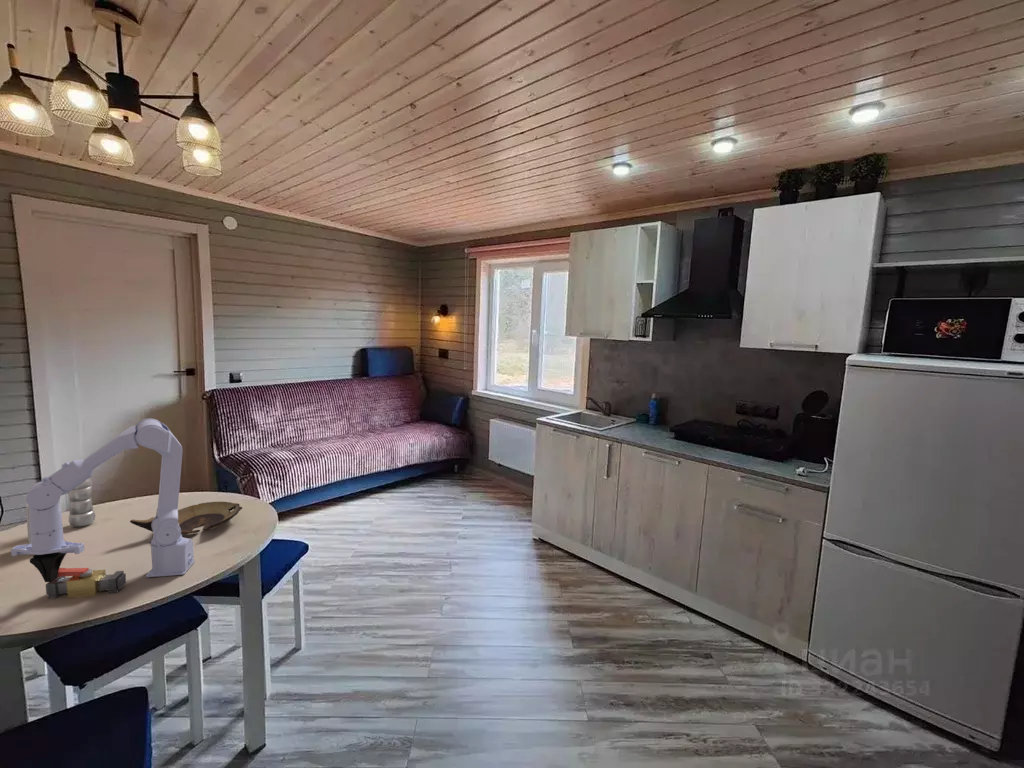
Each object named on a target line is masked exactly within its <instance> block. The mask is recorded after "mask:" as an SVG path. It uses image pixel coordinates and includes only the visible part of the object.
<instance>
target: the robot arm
mask: <svg viewBox="0 0 1024 768" xmlns="http://www.w3.org/2000/svg"><path fill="white" fill-rule="evenodd" d="M139 445H140V446H142V447H144V448H147V449H150V450H154V451H155V452H156V453H158V454H159V455H161V463H160V464H161V465H160V478H159V489H158V499H157V501H158V502H157V508H156V515H155V516H154V517H155V518H154V519H153V521H152V524H151V527H152V530H153V532H152V533H153V536H152V539H150V549H151V550H150V551H151V555H150V556H151V570H150V571H149V572H148V573H147V574H146V575H145V578H156V577H157V578H158V577H167V576H168V577H169V576H170V577H172V576H182V575H185V574H186V572H187V571H188V570H189V569H190V568H191V566H192V565H193V564H194V563H195V561H196V559H194V557H195V556H194V541H193V539H192V538H187V537H183V534H181V528H180V527H179V523H178V510H179V500H180V499H179V498H180V496H179V495H180V487H181V486H180V485H181V476H182V475H181V474H182V465H183V464H182V461H183V449H184V448H183V446H182V444H181V443H180V442H179V440H178V439H177V437H176V436H175V435H174V434H173V432H172V431H171V430H170V428H169V427H168V425H166V424H165V423H163V422H161V421H160V420H158V419H156V418H152V417H151V418H145V419H142V420H141V421H139V422H137V424H136V425H135V424H133V425H131V426H130V427H128V428H126V429H125V430H123V431H122V432H120V433H119V434H118V435H115V437H113V438H112V439H111V440H109V441H108V442H106V443H105V444H103V445H102V446H101V447H99V448H98V449H97V450H96V451H94V452H92V453H91V454H90V455H88V456H87V457H86V458H84V459H73V460H71V461H70V462H68V461H65V462H64V463H62V464H61V468H60V469H58V470H57V471H55V472H54V473H52V474H51V475H48V477H47V476H44V477H43V478H41V480H40V481H39V482H36V483H35V484H33V485H32V486H31V487H30V488H29V490H28V493H27V494H26V497H25V503H26V502H27V504H28V506H29V512H30V514H29V521H30V532H31V543H32V544H29V543H27V544H17V545H16V546H14V547H13V548H10V551H11V553H10V554H11V557H17V556H18V555H20V556H21V555H30V554H34V555H32V557H31V558H30V559H29V563H30V564H31V565H33V566H34V567H35V569H37V571H39V573H40V575H41V577H42V579H43V581H44V582H45V583H48V582H52V581H53V580H55V579H56V578H57V575H58V571H59V568H61V565H62V562H63V560H64V559H65V556H66V555H67V554H75V555H79V554H81V553H83V552H84V551H85V543H83V542H79V543H78V542H75V541H74V542H72V541H67V540H65V539H64V530H63V529H64V526H63V525H64V524H63V514H62V508H61V505H60V500H61V496H64V495H68V493H69V492H70V491H71V490H73V489H74V488H76V487H77V486H79V485H80V484H82V483H83V482H84V481H86V480H87V479H89V478H90V479H91V478H92V477H93V476H94V469H97V468H98V467H99V466H101V465H102V464H104V463H105V462H107V461H108V460H110V459H111V458H114V457H115V456H116V455H118V454H120V453H121V452H122V451H125V450H132V449H133V450H135V449H139Z"/></svg>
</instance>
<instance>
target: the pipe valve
mask: <svg viewBox="0 0 1024 768" xmlns="http://www.w3.org/2000/svg"><path fill="white" fill-rule="evenodd" d="M91 570H92V572H93V573H92V575H90V576H87V577H80V576H69V577H67V576H61V577H57V578H56V579H55V580H53V581H52V582H46V584H45V591H46V592H45V593H46V595H47V598H48V599H56V598H58V597H59V596H60V595H62V594H67V598H68V599H69V598H80V597H93V596H97V595H98V594H100V592H101V591H108V594H117V593H118V592H119V591H120V589H122V588H123V587H124V586H125V585H126V584H127V577H126V572H124V570H116V571H115V572H114V573H113V574H107V573H106V569H97V570H95V569H94V570H93V569H91Z"/></svg>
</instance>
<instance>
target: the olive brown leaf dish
mask: <svg viewBox="0 0 1024 768" xmlns="http://www.w3.org/2000/svg"><path fill="white" fill-rule="evenodd" d="M242 509H243V507H242V506H240V503H235V502H234V503H233V502H231V501H229V502H228V501H210V502H209V501H207V502H202V503H201V502H200V503H198V504H192V505H189V506H186V507H183V508H181V509H178V523H179V527H180V528H181V534H182V535H188V534H195V533H196V534H198V533H200V532H201V529H196V528H199V527H201V526H202V527H203V528H202V531H203V532H207V531H210V530H213V529H215V528H217V527H220V526H221V525H223V524H225V523H227V522H228V521H230V520H232V519H233V518H234V517H236V516H237V515H238V514H239V512H240V511H241V510H242ZM154 518H155V516H152V517H150V518H148V519H131V520H129V523H131V524H132V525H135V526H137V527H139V528H143V529H146V530H147V531H150V532H152V533H153V530H152V527H151V524H152V521H153V519H154ZM194 529H195V530H194Z"/></svg>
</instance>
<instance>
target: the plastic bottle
mask: <svg viewBox="0 0 1024 768" xmlns="http://www.w3.org/2000/svg"><path fill="white" fill-rule="evenodd" d="M92 489H93V480H92V478H91V477H90V478H89V479H87V480H86V481H84V482H83V483H82V484H80V485H79V486H77V487H76V488H74V489H73V490H71V491H70V492H69V493H67V496H68V500H69V501H68V502H69V515H68V524H69V525H70V526H71V527H73V528H81V527H85V526H88V525H91V524H92V523H94V522H95V519H96V513H95V510H94V506H93V503H92Z"/></svg>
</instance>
